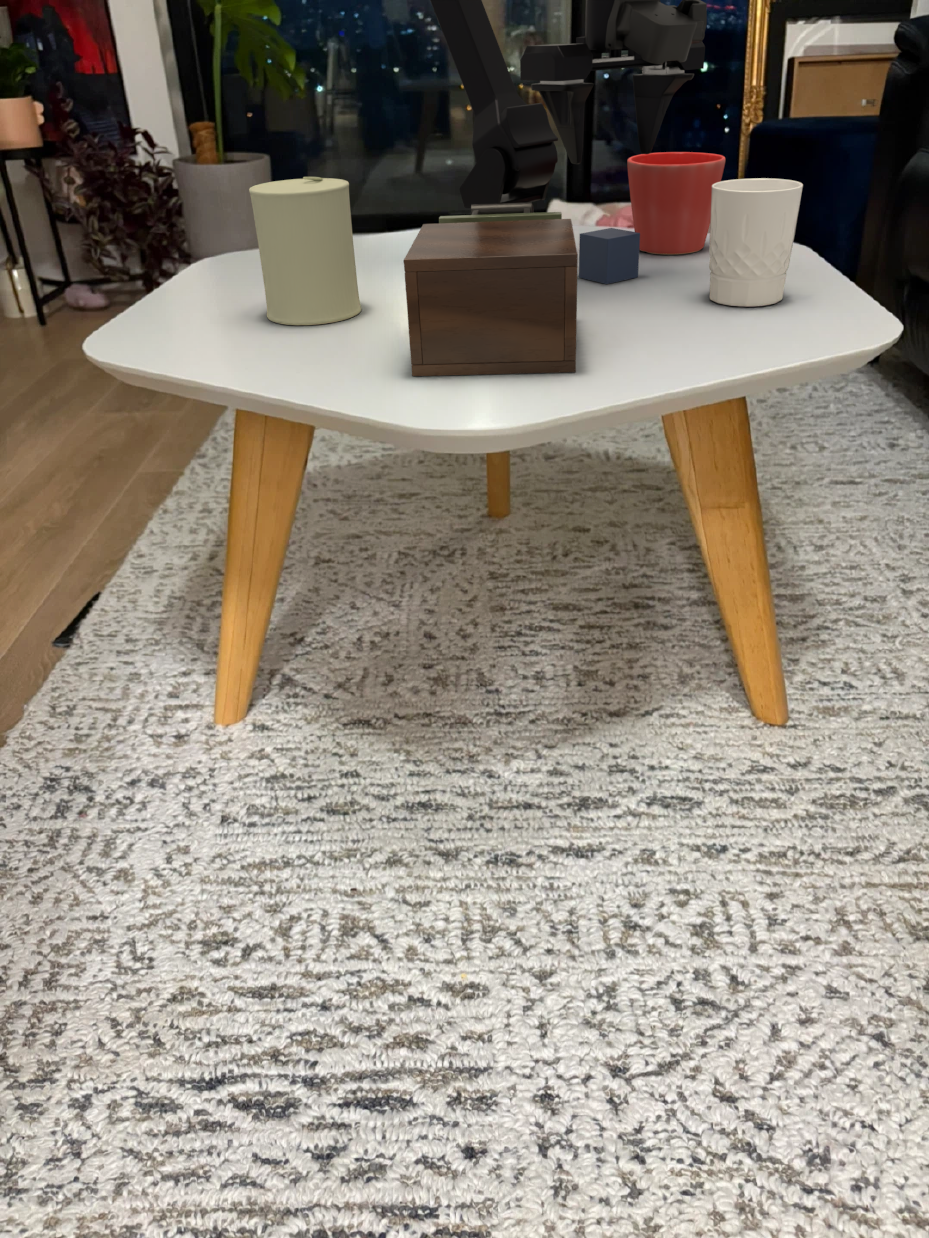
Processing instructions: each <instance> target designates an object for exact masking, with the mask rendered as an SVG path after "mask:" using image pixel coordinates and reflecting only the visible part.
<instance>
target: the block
mask: <svg viewBox="0 0 929 1238" xmlns="http://www.w3.org/2000/svg"><path fill="white" fill-rule="evenodd" d="M578 241H579V248H578V249H579V250H578V251H579V253H578V278H579V279H583V280H587V281H591V282H596V283H600V284H604V285H609V284H613V283H618V282H622V281H628V280H632V279H637V278H639V267H640V266H639V265H640V250H639V246H640V233H637V232H635V231H632V230H625V229H620V228H614V227H608V228H603V229H597V230H592V231H586V232H581V233H579V240H578Z"/></svg>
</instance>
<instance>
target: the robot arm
mask: <svg viewBox="0 0 929 1238" xmlns="http://www.w3.org/2000/svg"><path fill="white" fill-rule="evenodd" d="M429 1H430V4H431V7H432V10H433V13H434V15H435V17H436V19H437V22H438V25H439V27H440V30H441V32H442V35H443V37H444V40H445V43H446V45H447V48H448V51H449V53H450V56H451V58H452V60H453V61H452V62H453V63H454V66H455V69H456V71H457V73H458V76H459V79H460V81H461V83H462V86H463V89H464V91H465V94H466V97H467V99H468V102H469V104H470V107H471V109H472V112H473V116H474V120H473V121H474V122H473V131H472V142H471V147H472V150H473V154H474V158H475V162H476V163H475V164H474V166H473V168H472V169H471V170H470V171H469V173H468V175H467V176H466V177H465V179H464V181H463V182H462V183H461V185H460V186H459V193H460V197H461V201H462V204H463V208H465V209H470V210H471V205H473V204H499V203H526V202H536V201H545V199H546V196H547V192H548V188H549V186H550V181H551V179H552V177H553V175H554V173H555V169H556V164H558V162H559V158H558V157H559V155H558V151H557V146H556V144H555V142H558V141H559V138H558V136H557V135H556V133H555V132H554V131H553V128H552V127H551V124H550V119H549V117H548V112H549V115H550V116H551V118H552V120H553V123H554V125H555V127H556V130H557V132H558V134H559V137H560V140H561V142H562V145H563V147H564V149H565V152H566V155H567V157H568V159H569V162H570V163H571V164H573V165H580V164H581V163H582V159H583V158H582V157H583V150H584V149H583V148H584V127H585V126H584V125H585V104H586V100H587V98H588V97H589V95H590V93H591V91H592V89H593V87H594V86H595V85H594V82H584V81H585V80H586V79H587V77H588V76H589V74H591V72H596V71H609V70H619V69H620V70H621V69H631V68H638V69H639V70H641V72H642V73H639V74H632V84H633V97H634V107H635V117H636V129H637V130H636V131H637V140H638V145H639V150H640V154H650V153H652V151H653V148H654V145H655V142H656V139H657V137H658V134H659V131H660V129H661V127H662V124H663V120H664V117H665V115H666V113H667V112H666V111H667V110H668V108H669V106H670V103H671V100H672V98H673V96H674V95H675V93H676V92H677V91H678V90H679V89H680V88H681V87H682V86H683V85H684V84H685V83H686V82H687V81H691V80H692V79H693V78H694V76H695V73H685V71H692V70H703V69H704V67H705V56H706V55H705V54H706V46H705V43H703V40H704V39H705V35H706V34H705V32H706V29H707V22H708V20H707V18H708V16H707V15H708V14H707V11H708V10H707V7H708V6H707V2H705V1H703V0H681V1H680V2H679V4H678V5H667V4H665V3H663V2H661V0H585V13H584V14H585V15H584V17H585V18H584V19H585V20H584V21H585V22H584V36H578V37H575V43H551V44H550V43H549V44H536V45H535V44H534V45H527V46H526V47H525V49H524V51H523V53H522V56H521V57H520V60H519V70H520V72H519V76H520V77H519V78H520V79H519V80H520V81H525V82H527V81H528V82H529V81H530V82H538V83H531V84H530V86H531V87H530V88H531V91H538V94H539V95H540V97H541V99H542V102H543V103H544V104H545V105H544V104H543V103H542V102H538V103H530V104H527V103H526V102H525V101H524V100H523V99H522V98H521V97H520V95H519V94H518V92H517V89H516V87H515V84H514V82H513V79H512V77H511V74H510V71H509V69H508V66H507V64H506V63H507V62H506V61H505V58H504V55H503V53H502V50H501V47H500V45H499V43H498V40H497V37H496V34H495V32H494V29H493V27H492V23H491V22H490V19H489V15H488V13H487V11H486V8H485V6H484V2H483V0H429ZM623 51H624V52H625V51H627V54H622V53H623ZM603 54H608V55H605V56H603ZM545 107H546V108H547V110H548V112H547V110H546V108H545ZM532 213H534V204H532Z"/></svg>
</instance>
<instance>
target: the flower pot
mask: <svg viewBox="0 0 929 1238" xmlns="http://www.w3.org/2000/svg"><path fill="white" fill-rule="evenodd" d="M626 163H627V178H628V187H629V197H630V205H631V215H632V223H633V229H634V231H633V232H637V233H640V246H639V252H640V251H641V252H642V253H643V252H646V253H648V254H652V255H653V254H654V255H662V256H663V255H664V256H666V255H667V256H668V255H671V256H674V255H688V254H693V253H697V252H699V251H702V249H704V247H705V244H706V241H707V237H708V234H709V230H710V219H711V192H712V185H713V184H714V183H717V182H721V181H722V178H723V174H724V169H725V165H726V157H725V156H724V155H723V154H717V153H710V152H709V153H708V152H693V151H691V152H690V151H666V152H665V151H664V152H651V153H650V154H642V153H640V154H636V155H632V156H630V157H628V158H627V162H626Z"/></svg>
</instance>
